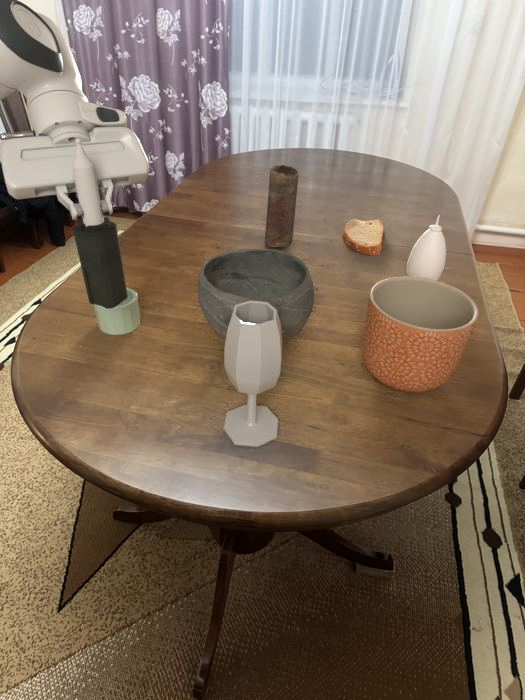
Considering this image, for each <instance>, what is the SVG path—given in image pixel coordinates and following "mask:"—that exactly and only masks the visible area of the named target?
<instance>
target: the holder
mask: <svg viewBox="0 0 525 700" xmlns="http://www.w3.org/2000/svg"><path fill="white" fill-rule="evenodd" d="M126 288H127V294H128V297H127V299H125V300H124V301H123V302H121V303H120V304H119V305H117V306H116V307H114V308H111V309H106V308H105V307H102V306H99V305H96V304H93V308H94V312H95V317H96V322H97V326H98V329H99V331H101V332H102V333H104V334H106V335H112V336H121V335H125V334H130V333H132V332H134V331H135V330H137V329H138V328H139V327H140V326H141V322H142V319H141V312H140V311H141V310H140V305H139V298H138V293H137V291H135V290H134V289H132V288H130V287H126Z"/></svg>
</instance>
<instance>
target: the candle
mask: <svg viewBox="0 0 525 700" xmlns="http://www.w3.org/2000/svg"><path fill="white" fill-rule="evenodd" d="M75 143H76V153H75V159H74V161H73V163H72V170H73V175H74V180H75V184H76V189H77V192H76V194H77V198H78V203H80V206H81V209H82V211H83V215H84V216H83V219H78V221H77V224H76V225H74V226H73V227H72V232H73V236H74V241H75V245H76V249H77V254H78V258H79V264H80V268H81V272H82V277H83V281H84V286H85V289H86V294H87V299H88V303H89V304H90V305H94V304H96V305H99V306H102V307H105V308H106V309H111V308H114V307H116V306H117V305H119V304H120V303H121V302H123V301H124V300H125V299H127V297H128V294H127V288H128V287H127V283H126V282H127V281H126V277H125V270H124V264H123V258H122V251H121V245H120V240H119V234H118V227H117V223H116V222H114V221H111V220H110V218H109V217H107V216H104V215H103V213H102V207H101V201H100V200H101V196H100V191H99V190H100V189H98V185H97V179H96V173H95V168H94V164H93V163H92V161H91V160H90V159H89V158H88V157H87V155H86V153H85V151H84V149H83V147H82V145H81V143H82V141H81V140H80V139H79V138H76V140H75Z"/></svg>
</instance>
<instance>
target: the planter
mask: <svg viewBox="0 0 525 700" xmlns="http://www.w3.org/2000/svg"><path fill="white" fill-rule="evenodd" d="M479 316H480V311H479V307H478V305H477V303H476V302H475V301H474V300H473V298H471V297H470V296H469V295H468V294H467V293H465V292H464V291H462V290H461V289H459V288H457V287H455V286H454V285H453V286H452V285H451V284H448V283H445V282H443V281H440V280H438V281H436V280H433V279H428V278H422V277H413V276H407V275H404V276H403V275H402V276H393V277H389V278H384V279H383V280H380V281H377V283H375V284H374V285H373V286H372V288H371V289H370V292H369V296H368V300H367V306H366V313H365V317H364V326H363V331H362V332H363V333H362V340H361V356H362V360H363V363H364V365H365V367H366V369H367V370H368V371H369V373H370V374H371V375H372V377H374V378H375V379H376V380H377V381H378V382H380V383H381V384H383V385H384V386H386V387H388V388H390V389H394V390H396V391H400V392H404V393H424V392H430V391H432V390H436V389H437V388H439V387H442V386H443V385H444V384H446V383H447V382H448V380H450V379H451V377H452V376H453V375H454V373H455V371H456V369H457V368H458V367H459V364H460V363H461V360H462V357H463V356H464V353H465V351H466V349H467V346H468V343H469V341H470V339H471V336H472V334H473V331H474V330H475V326H476V325H477V321H478V319H479Z"/></svg>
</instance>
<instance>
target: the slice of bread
mask: <svg viewBox="0 0 525 700" xmlns="http://www.w3.org/2000/svg"><path fill="white" fill-rule="evenodd" d="M342 233H343V234H342V237H343V238H344V242H345V244H346V245H347V246H348V247H349V248H350V249H352V250H354V251H356V252H358V253H360V254H363V255H366V256H373V257H374V256H380V254H381V252H382V250H383V248H384V247H383V246H384V241H385V235H386V233H385V225H384V222H383V221H382V220H381V219H370V220H360V219H357V218H351V219H349V220H348V222H347V223H346V224H345V226H344V228H343V231H342Z"/></svg>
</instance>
